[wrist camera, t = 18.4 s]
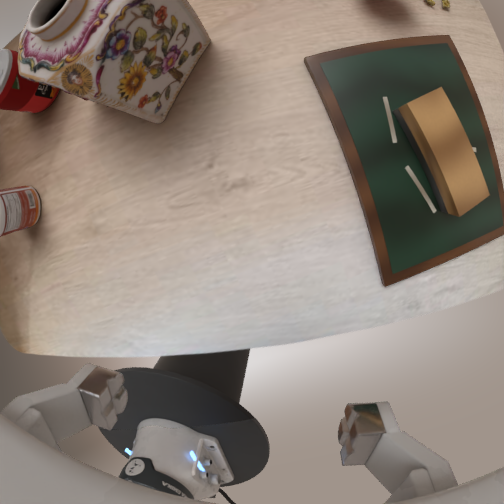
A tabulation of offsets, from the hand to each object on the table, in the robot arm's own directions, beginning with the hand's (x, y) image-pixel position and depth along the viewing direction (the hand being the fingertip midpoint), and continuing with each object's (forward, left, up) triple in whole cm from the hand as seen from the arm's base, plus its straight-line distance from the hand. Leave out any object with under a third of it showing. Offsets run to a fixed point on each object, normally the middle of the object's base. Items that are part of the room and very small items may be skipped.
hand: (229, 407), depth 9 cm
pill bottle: (+18, +30, -23) cm, 42 cm away
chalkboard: (+5, -21, -23) cm, 31 cm away
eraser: (+4, -21, -22) cm, 31 cm away
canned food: (+33, +21, -23) cm, 45 cm away
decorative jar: (+25, +5, -23) cm, 34 cm away
